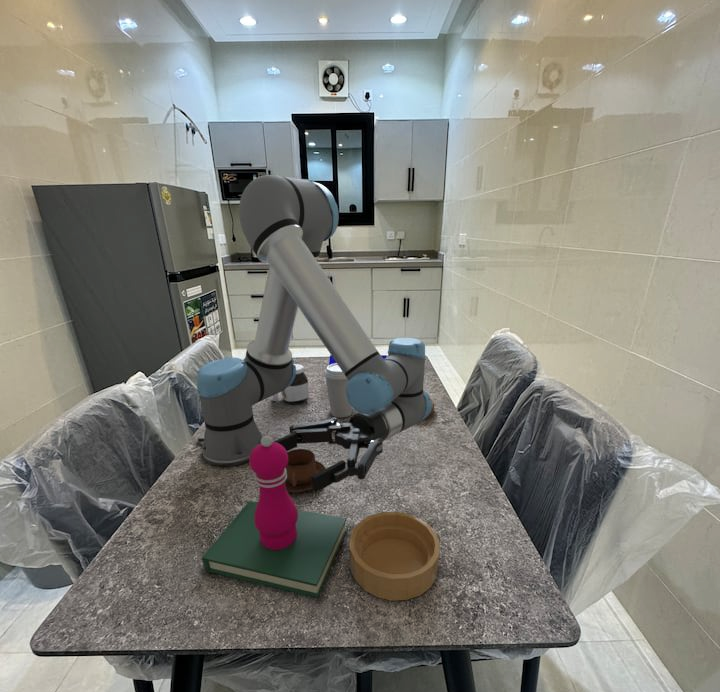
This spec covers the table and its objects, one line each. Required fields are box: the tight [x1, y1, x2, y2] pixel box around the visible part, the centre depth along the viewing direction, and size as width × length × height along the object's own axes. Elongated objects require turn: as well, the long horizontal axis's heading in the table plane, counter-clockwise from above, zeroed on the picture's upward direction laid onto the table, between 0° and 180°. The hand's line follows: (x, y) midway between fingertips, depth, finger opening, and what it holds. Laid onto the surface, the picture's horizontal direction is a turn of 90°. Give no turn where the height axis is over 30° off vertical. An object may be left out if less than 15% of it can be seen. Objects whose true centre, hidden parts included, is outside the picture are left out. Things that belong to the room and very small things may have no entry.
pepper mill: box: [248, 435, 298, 550], centre depth 63 cm, size 7×7×20 cm
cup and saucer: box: [285, 448, 327, 493], centre depth 86 cm, size 12×12×6 cm
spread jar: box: [271, 363, 310, 405], centre depth 126 cm, size 12×11×12 cm
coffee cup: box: [323, 363, 353, 419], centre depth 116 cm, size 10×10×15 cm
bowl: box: [349, 511, 441, 602], centre depth 64 cm, size 15×15×5 cm
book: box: [201, 500, 348, 599], centre depth 67 cm, size 20×15×3 cm
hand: (287, 467), depth 64 cm, fingers open, 13 cm apart
